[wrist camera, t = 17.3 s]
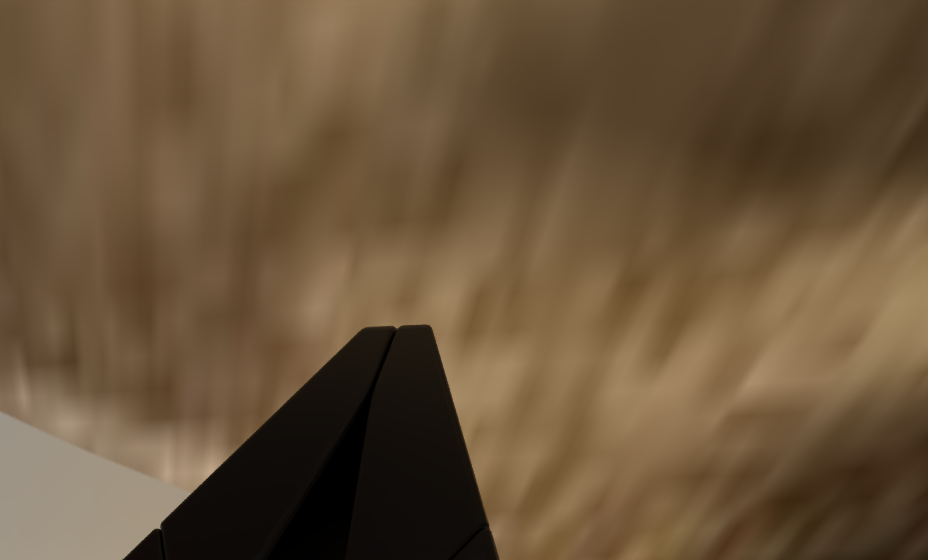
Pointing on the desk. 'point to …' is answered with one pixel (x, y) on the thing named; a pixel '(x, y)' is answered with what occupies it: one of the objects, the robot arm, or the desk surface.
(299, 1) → the desk surface
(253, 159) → the desk surface
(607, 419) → the desk surface
